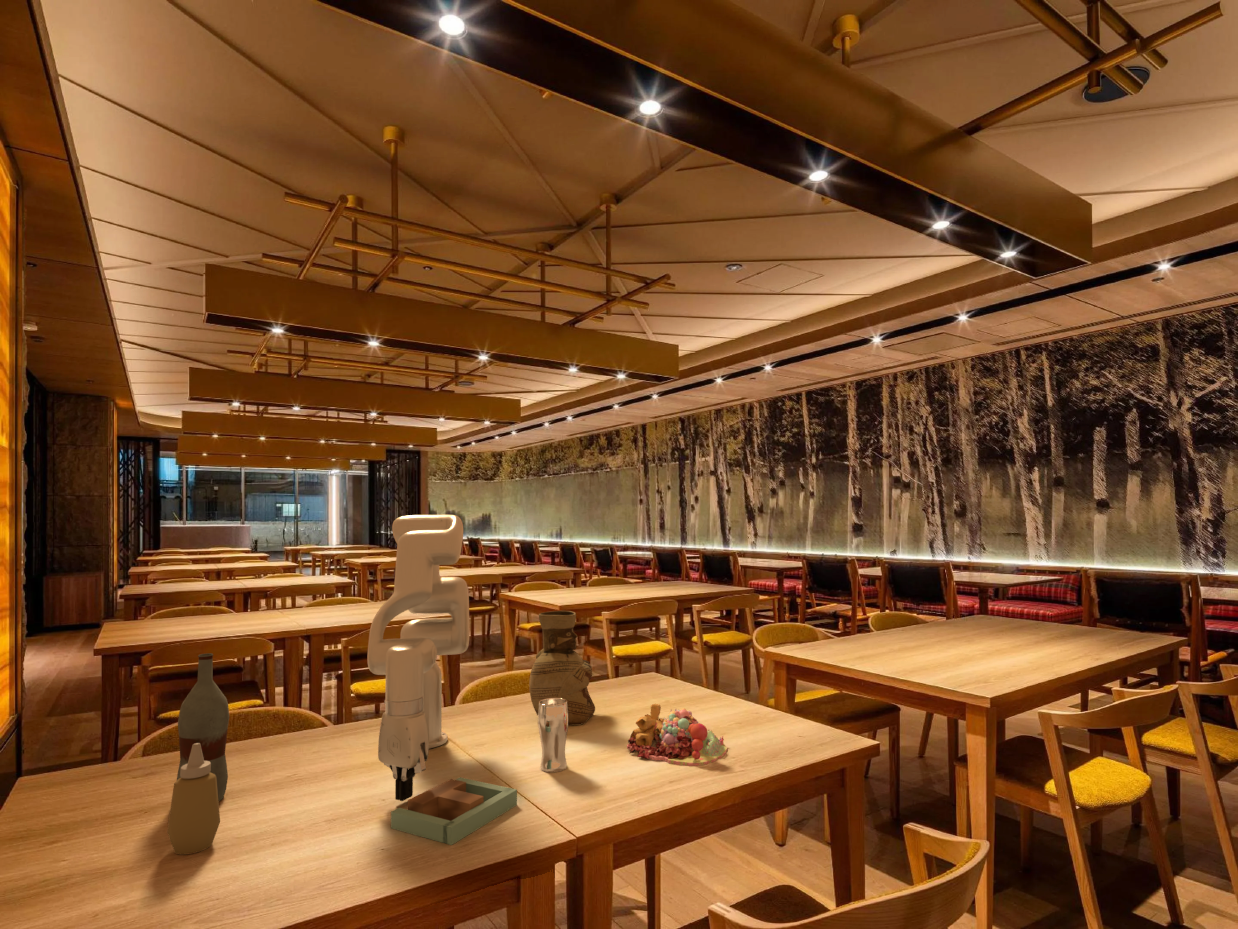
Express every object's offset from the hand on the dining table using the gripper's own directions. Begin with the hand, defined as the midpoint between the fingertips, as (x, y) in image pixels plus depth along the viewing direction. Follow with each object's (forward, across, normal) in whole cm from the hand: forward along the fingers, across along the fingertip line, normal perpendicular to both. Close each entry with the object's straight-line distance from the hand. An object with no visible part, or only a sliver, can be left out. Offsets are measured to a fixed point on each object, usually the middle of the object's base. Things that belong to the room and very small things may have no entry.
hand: (404, 798), depth 140 cm
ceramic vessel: (+1, -3, +64) cm, 64 cm away
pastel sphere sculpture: (+2, +37, +55) cm, 66 cm away
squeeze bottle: (+1, -20, -31) cm, 37 cm away
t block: (+1, +13, 0) cm, 13 cm away
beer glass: (+1, +17, +30) cm, 34 cm away
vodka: (+1, -40, -18) cm, 43 cm away
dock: (+1, +14, 0) cm, 14 cm away
